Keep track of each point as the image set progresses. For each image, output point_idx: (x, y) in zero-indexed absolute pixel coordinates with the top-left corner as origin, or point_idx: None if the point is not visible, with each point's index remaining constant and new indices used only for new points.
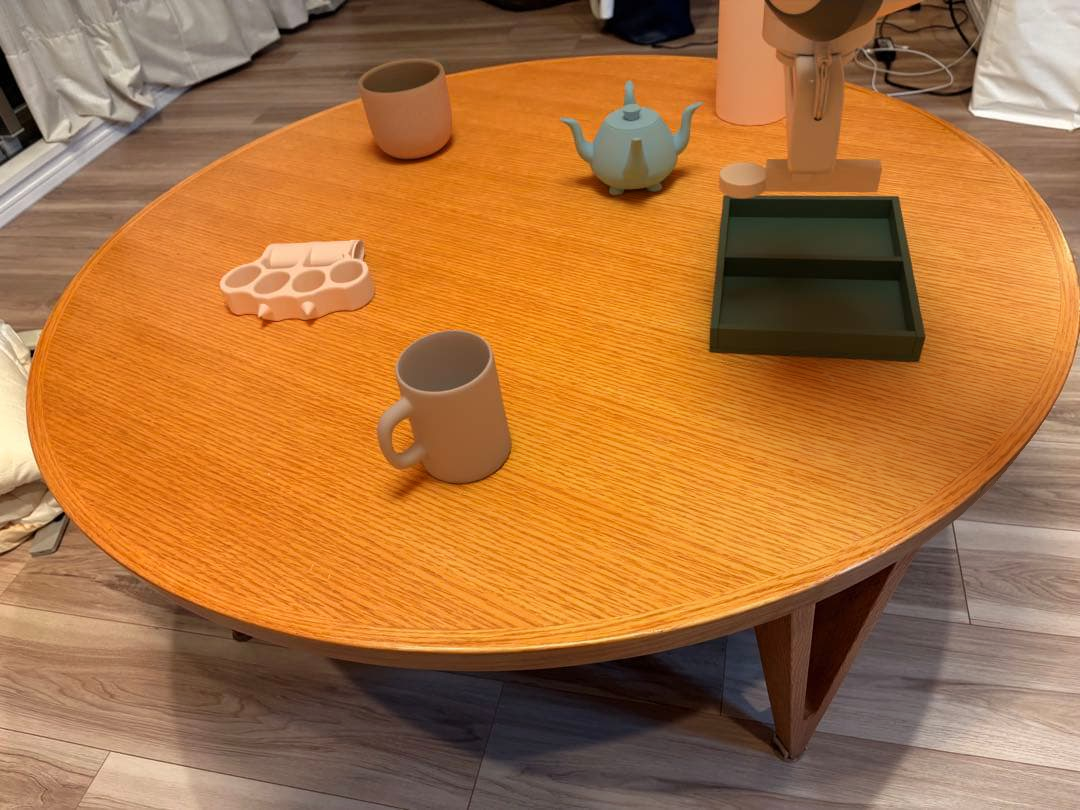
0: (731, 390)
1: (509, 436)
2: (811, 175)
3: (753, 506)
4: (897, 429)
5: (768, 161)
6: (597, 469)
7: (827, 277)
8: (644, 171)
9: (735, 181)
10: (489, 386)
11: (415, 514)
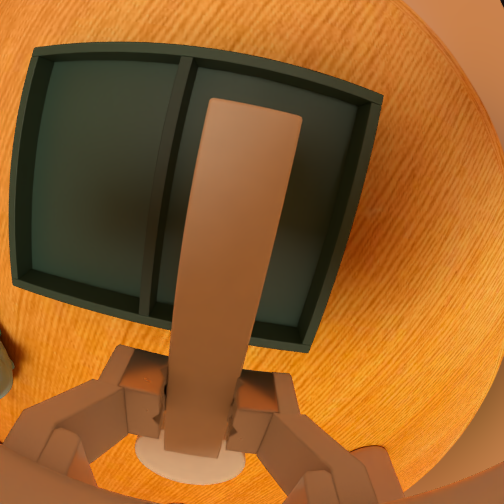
0: (366, 316)
1: (370, 453)
2: (292, 385)
3: (475, 309)
4: (450, 171)
5: (180, 452)
6: (408, 403)
7: (175, 163)
8: (2, 369)
9: (225, 474)
10: (398, 497)
11: (393, 465)
